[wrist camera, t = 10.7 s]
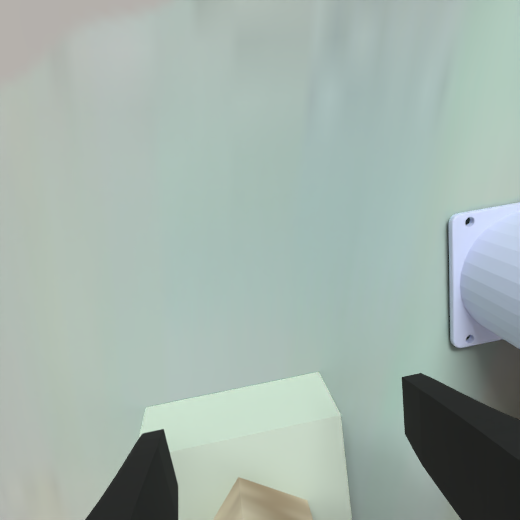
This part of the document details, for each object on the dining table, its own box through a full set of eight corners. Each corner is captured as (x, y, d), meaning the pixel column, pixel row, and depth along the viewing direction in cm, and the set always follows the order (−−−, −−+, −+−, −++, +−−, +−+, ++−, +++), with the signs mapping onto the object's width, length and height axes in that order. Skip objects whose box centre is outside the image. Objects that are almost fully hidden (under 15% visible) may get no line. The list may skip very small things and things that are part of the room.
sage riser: (318, 371, 23) (340, 415, 20) (334, 505, 26) (356, 566, 22) (146, 407, 23) (133, 459, 19) (181, 541, 25) (177, 611, 22)
